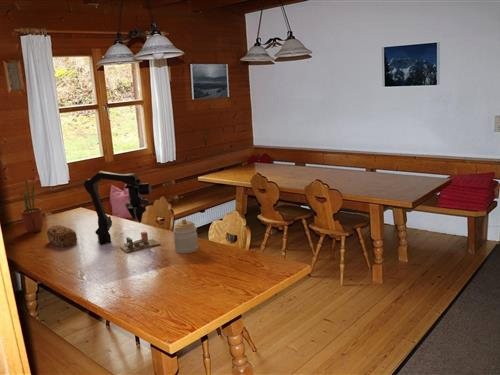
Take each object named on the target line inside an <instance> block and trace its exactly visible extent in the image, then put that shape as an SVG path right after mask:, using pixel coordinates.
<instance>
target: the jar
mask: <svg viewBox="0 0 500 375" xmlns="http://www.w3.org/2000/svg"><path fill="white" fill-rule="evenodd" d="M173 227H174V229H173V230H172V232H173V234H174V235H173V240H174V250H175V252H176V253H178V254H191V253H194V252H197V251H198V250H199V240H198V232H197V230H198V229H197V226H196V223H195V222H192V221H191V220H187V219H186V218H183V219H181V221H178V222H177V223H176V224H174V226H173Z"/></svg>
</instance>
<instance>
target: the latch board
mask: <svg viewBox="0 0 500 375" xmlns="http://www.w3.org/2000/svg"><path fill="white" fill-rule="evenodd" d="M125 238H126V240H125V241H126V243H128V242H129V243H130V246H127V247H125V246H124V245H121V246H120V249H121V250H122V251H123V252H124V253H126V254H130V253H134V252H138V251H141V250H147V249H150V248H154V247H155V248H156V247H159V246H161V245H162V244H161V242H159V241H158V240H156V239H154V238H152V239H148V241H147V242H143V243H139V244H135V245H133V241H134V240H133V238H131V237H129V236H127V237H125Z"/></svg>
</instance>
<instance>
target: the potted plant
mask: <svg viewBox="0 0 500 375" xmlns="http://www.w3.org/2000/svg"><path fill="white" fill-rule="evenodd" d="M24 181H25V185H24V187H26V191H25V192H23V197H22V198H20V199H19V202H20V203H21V202H22V201H24V205H23V209H21V210H20V211H19V212H20V215H21V217H22V222H23V227H24V229H25V230H26V231H27V232H28V233H31V234H34V232H35V233H37V232H39V231H41V230H42V228H43V225H44V224H43V221H44V220H43V215H42V214H43V213H42V210H43V208H41V207H35V200H36V201H40V202H42V200H41V199H38V198H35V197H34V196H35V192H37V190H36V189H35V188H36V187H35V184H34V183H33V184H32V188H31V190H32V191H31V195H30V190H29V188H30V187H31V186H30V185H29V184H28V181H29V182H30V180H29V179H25V180H24ZM31 199H32V203H31Z"/></svg>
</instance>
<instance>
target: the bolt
mask: <svg viewBox="0 0 500 375" xmlns="http://www.w3.org/2000/svg"><path fill="white" fill-rule="evenodd" d="M148 235H149V234H148V232H147V231H146V230H145V231H141V232H140V237H141V238H140V239H137V240H132V241H133V245H135V244H139V243H143V242H147V241H148V240H149V238H148ZM123 246H125V247H127V246H130V243H129V242H128V243H127V242H124V243H123Z"/></svg>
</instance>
